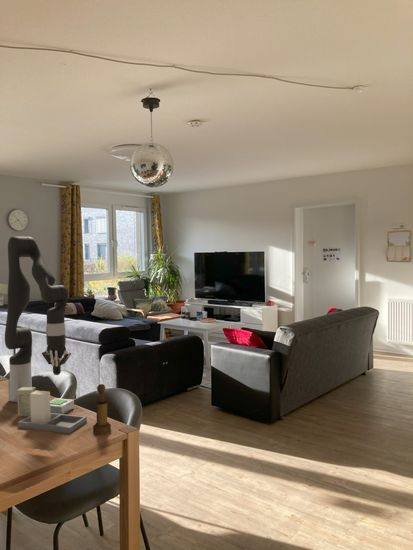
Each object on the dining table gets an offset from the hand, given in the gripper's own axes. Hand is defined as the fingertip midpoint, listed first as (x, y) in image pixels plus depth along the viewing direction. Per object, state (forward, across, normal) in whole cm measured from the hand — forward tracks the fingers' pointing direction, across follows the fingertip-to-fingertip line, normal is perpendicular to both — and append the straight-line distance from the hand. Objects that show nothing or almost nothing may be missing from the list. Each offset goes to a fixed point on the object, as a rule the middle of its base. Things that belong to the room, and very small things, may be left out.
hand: (56, 374), depth 190 cm
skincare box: (+17, +10, +7) cm, 21 cm away
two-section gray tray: (+17, -7, +14) cm, 23 cm away
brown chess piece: (+17, -27, +12) cm, 34 cm away
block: (+15, -2, +14) cm, 21 cm away
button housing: (+17, 0, 0) cm, 17 cm away
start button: (+15, 0, 0) cm, 15 cm away
